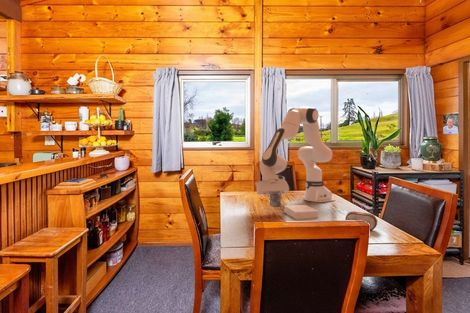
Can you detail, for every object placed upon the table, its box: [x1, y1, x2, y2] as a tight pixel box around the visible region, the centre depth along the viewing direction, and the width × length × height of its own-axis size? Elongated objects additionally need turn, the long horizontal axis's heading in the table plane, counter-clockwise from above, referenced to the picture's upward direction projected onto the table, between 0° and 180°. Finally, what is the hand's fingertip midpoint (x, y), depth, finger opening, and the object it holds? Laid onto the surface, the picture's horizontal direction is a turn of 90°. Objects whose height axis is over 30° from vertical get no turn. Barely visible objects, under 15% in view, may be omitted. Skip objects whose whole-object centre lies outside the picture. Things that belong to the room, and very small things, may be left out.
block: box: [269, 194, 282, 208], centre depth 188 cm, size 5×5×7 cm
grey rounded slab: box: [345, 211, 378, 231], centre depth 158 cm, size 15×3×8 cm, turn 59°
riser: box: [283, 204, 319, 220], centre depth 185 cm, size 14×16×4 cm
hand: (275, 199), depth 187 cm, fingers closed on block, 5 cm apart
